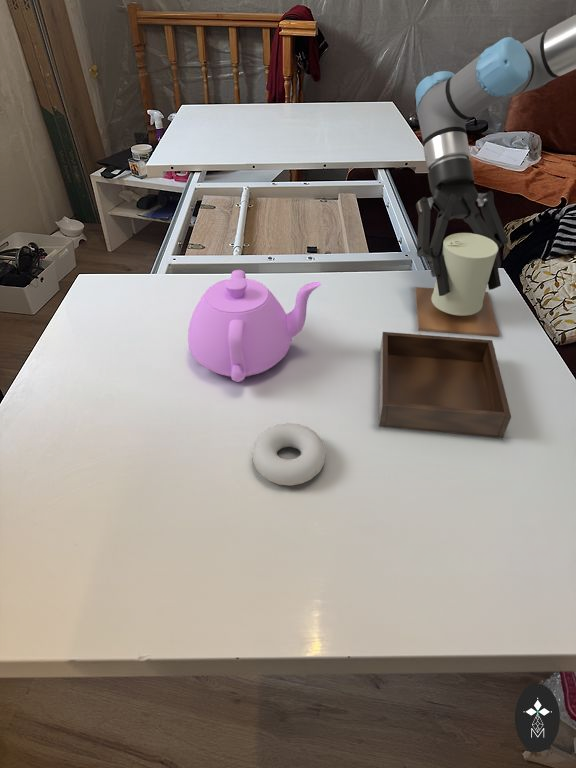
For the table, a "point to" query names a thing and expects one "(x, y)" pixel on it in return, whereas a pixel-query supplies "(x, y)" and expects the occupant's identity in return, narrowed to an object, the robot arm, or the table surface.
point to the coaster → (453, 317)
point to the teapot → (244, 326)
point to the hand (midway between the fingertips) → (469, 290)
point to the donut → (283, 468)
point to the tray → (441, 385)
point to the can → (465, 273)
